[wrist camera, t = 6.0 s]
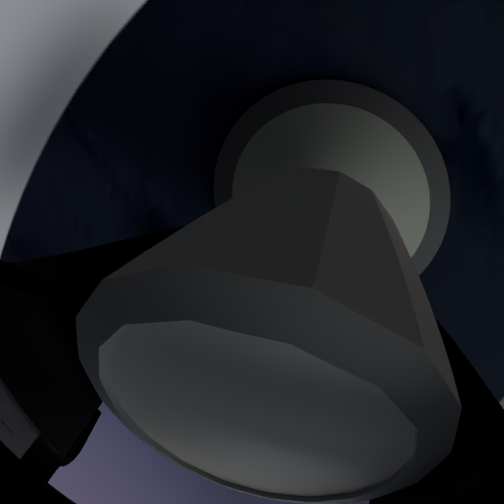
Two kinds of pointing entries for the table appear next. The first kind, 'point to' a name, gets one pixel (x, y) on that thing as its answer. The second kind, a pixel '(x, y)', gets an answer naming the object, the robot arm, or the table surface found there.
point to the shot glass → (279, 346)
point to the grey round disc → (344, 153)
